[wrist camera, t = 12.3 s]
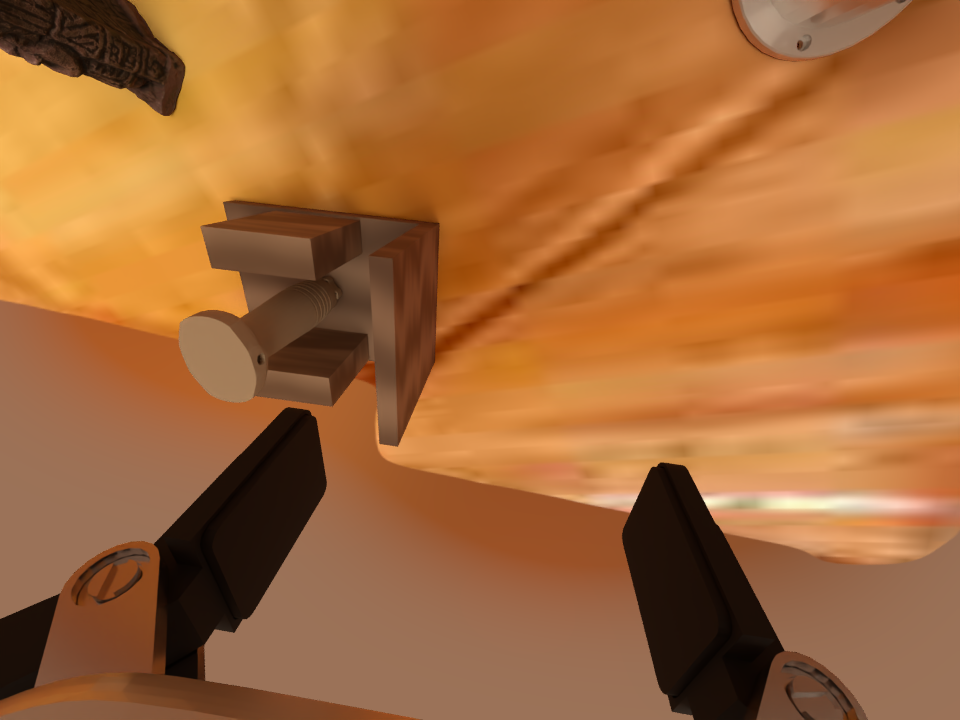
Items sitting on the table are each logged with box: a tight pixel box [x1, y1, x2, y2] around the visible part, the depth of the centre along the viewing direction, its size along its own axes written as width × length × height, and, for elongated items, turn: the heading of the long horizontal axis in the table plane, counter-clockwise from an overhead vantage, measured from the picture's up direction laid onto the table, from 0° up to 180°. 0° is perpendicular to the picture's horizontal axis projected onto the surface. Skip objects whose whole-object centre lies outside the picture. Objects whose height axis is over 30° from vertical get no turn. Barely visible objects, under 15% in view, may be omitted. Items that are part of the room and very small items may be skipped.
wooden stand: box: [201, 200, 439, 446], centre depth 32 cm, size 15×20×14 cm
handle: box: [179, 277, 342, 402], centre depth 30 cm, size 5×6×15 cm
